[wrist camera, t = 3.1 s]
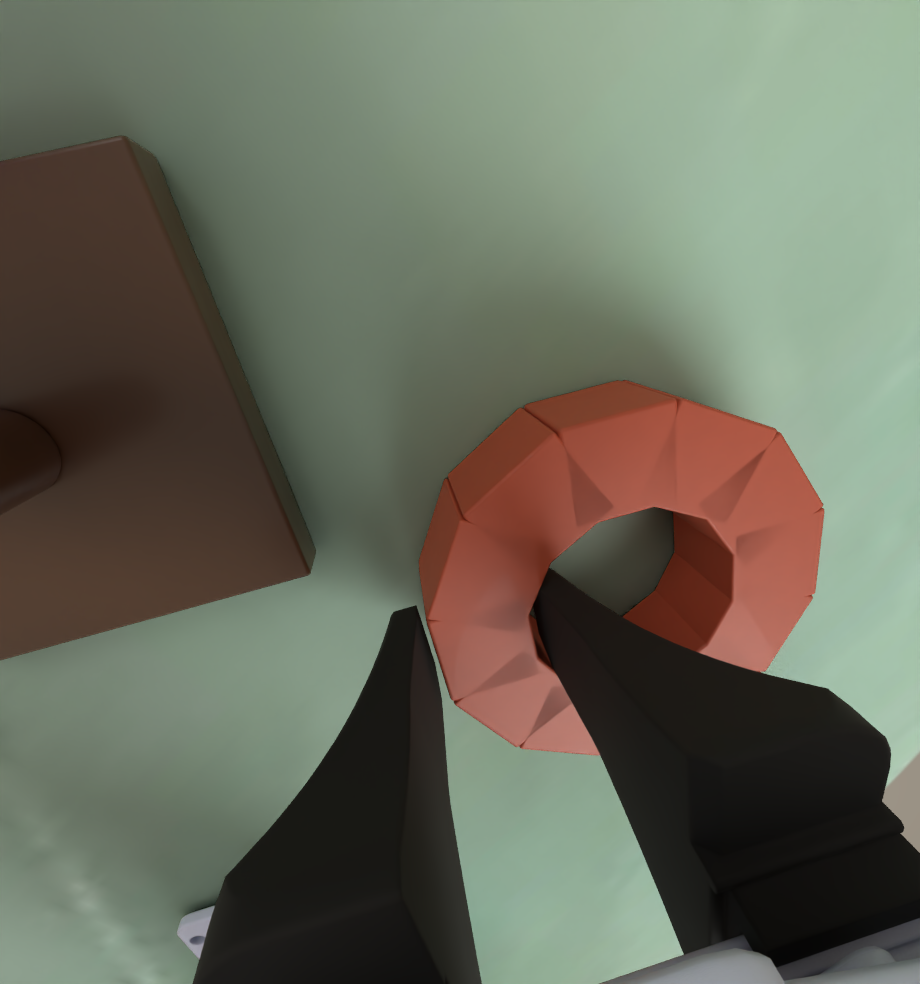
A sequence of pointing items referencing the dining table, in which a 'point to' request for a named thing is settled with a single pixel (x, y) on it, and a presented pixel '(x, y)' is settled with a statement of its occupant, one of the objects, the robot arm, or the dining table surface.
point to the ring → (602, 496)
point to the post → (122, 411)
